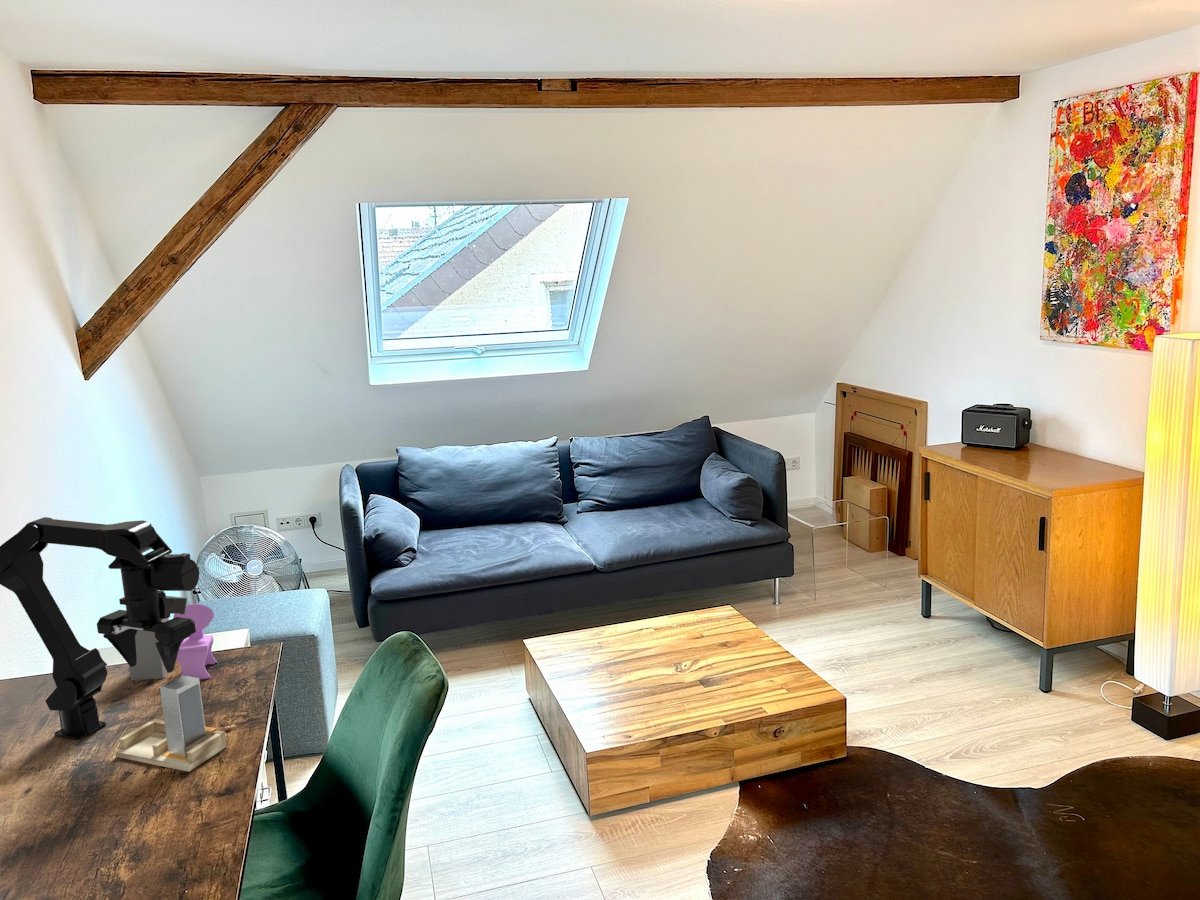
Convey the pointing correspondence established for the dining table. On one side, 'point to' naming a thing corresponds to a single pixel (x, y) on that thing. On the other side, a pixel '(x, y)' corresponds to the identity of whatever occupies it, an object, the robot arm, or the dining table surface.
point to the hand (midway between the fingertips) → (151, 668)
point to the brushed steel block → (183, 715)
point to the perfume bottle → (147, 657)
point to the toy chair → (196, 643)
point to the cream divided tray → (153, 747)
